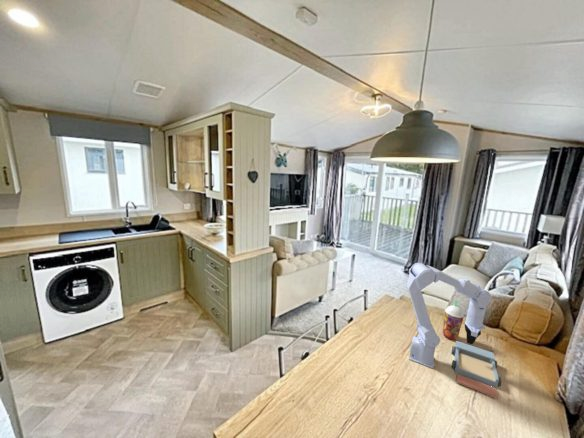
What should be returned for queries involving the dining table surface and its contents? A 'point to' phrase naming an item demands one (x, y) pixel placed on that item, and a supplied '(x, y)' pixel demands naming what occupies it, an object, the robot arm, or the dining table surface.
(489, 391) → the tailgate
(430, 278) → the robot arm
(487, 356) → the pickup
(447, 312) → the smoothie
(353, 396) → the dining table surface
